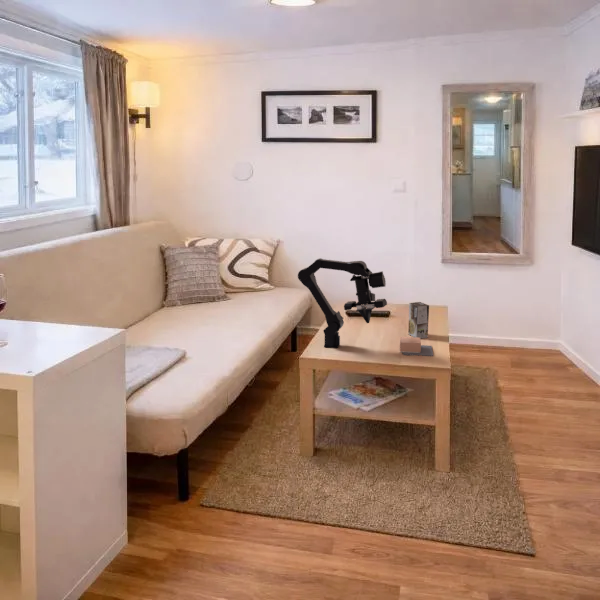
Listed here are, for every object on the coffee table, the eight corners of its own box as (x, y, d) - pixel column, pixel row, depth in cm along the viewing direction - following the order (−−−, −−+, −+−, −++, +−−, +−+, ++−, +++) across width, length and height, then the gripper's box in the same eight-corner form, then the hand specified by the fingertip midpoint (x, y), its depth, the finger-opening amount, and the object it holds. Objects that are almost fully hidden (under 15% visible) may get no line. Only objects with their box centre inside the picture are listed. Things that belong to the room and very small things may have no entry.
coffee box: (428, 338, 314) (429, 305, 311) (416, 339, 312) (417, 306, 309) (419, 333, 322) (420, 301, 319) (407, 334, 320) (408, 302, 317)
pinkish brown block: (400, 342, 287) (420, 343, 286) (400, 336, 297) (420, 337, 296) (399, 352, 288) (420, 352, 287) (399, 346, 298) (419, 346, 297)
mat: (403, 355, 285) (403, 354, 285) (402, 345, 301) (402, 344, 301) (433, 356, 283) (433, 355, 283) (431, 346, 299) (431, 345, 299)
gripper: (388, 283, 293) (393, 317, 295) (350, 287, 301) (355, 319, 304) (380, 289, 283) (385, 323, 286) (341, 292, 292) (346, 325, 294)
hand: (368, 322), depth 293 cm, fingers closed
